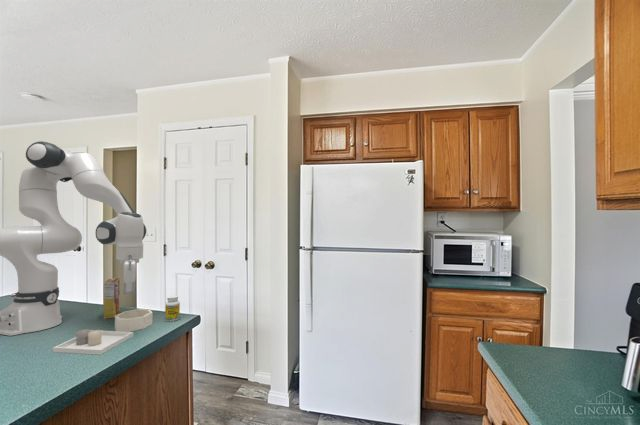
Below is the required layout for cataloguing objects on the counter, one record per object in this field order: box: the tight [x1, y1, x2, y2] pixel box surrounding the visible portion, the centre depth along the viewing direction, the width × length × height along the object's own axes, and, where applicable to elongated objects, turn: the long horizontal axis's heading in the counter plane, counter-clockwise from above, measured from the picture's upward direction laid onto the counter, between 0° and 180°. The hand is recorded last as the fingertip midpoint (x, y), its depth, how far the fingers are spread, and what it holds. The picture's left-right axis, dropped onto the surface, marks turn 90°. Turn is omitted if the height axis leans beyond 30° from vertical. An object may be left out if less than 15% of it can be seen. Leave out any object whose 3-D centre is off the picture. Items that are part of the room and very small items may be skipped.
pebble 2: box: [88, 329, 103, 346], centre depth 97 cm, size 4×4×4 cm
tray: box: [52, 329, 134, 356], centre depth 97 cm, size 16×14×2 cm
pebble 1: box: [75, 328, 91, 345], centre depth 97 cm, size 4×4×4 cm
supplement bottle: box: [164, 294, 181, 322], centre depth 122 cm, size 5×5×10 cm
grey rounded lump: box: [123, 281, 136, 295], centre depth 113 cm, size 4×4×4 cm
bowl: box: [114, 308, 153, 332], centre depth 113 cm, size 12×12×5 cm
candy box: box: [103, 277, 121, 320], centre depth 126 cm, size 9×4×15 cm, turn 23°
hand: (128, 289), depth 113 cm, fingers closed on grey rounded lump, 4 cm apart
